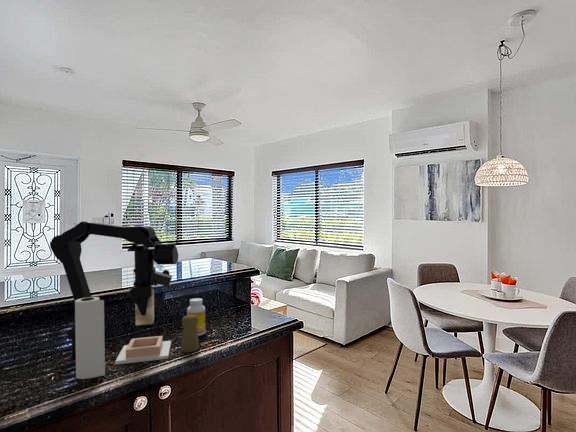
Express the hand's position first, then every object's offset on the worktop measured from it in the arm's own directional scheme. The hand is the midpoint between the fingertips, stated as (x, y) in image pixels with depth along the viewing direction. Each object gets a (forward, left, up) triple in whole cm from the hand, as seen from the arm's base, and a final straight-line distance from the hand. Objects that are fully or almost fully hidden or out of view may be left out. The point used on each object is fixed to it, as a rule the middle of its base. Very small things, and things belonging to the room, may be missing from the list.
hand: (144, 312), depth 111 cm
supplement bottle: (+16, +14, -13) cm, 25 cm away
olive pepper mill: (+14, 0, -13) cm, 19 cm away
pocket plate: (0, 0, -13) cm, 13 cm away
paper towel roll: (-13, -12, -13) cm, 22 cm away
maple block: (0, 0, -3) cm, 3 cm away
